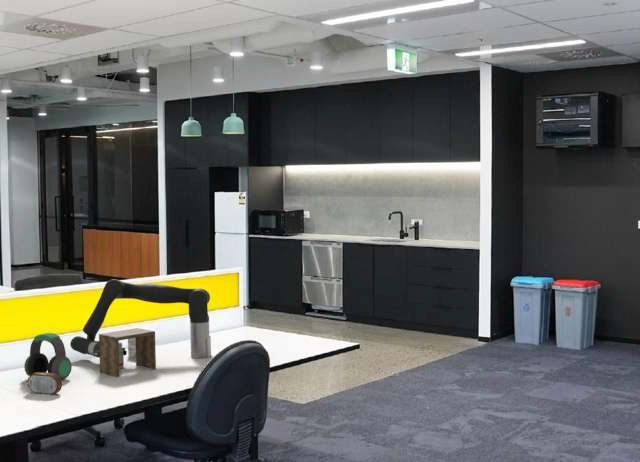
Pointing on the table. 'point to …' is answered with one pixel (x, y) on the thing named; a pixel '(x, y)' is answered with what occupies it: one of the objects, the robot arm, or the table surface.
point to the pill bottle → (121, 356)
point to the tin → (44, 383)
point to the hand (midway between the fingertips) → (119, 354)
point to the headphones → (40, 362)
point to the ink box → (132, 347)
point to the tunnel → (111, 349)
